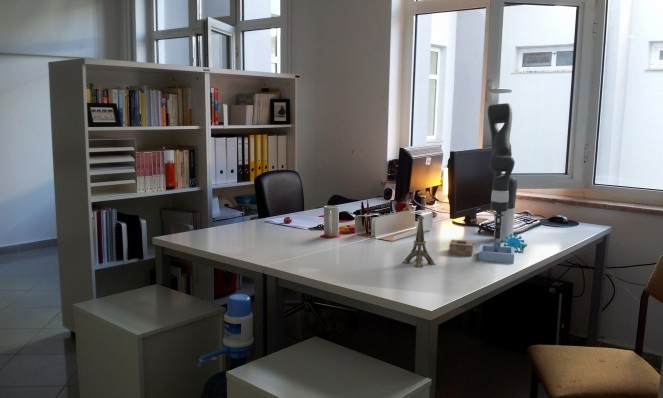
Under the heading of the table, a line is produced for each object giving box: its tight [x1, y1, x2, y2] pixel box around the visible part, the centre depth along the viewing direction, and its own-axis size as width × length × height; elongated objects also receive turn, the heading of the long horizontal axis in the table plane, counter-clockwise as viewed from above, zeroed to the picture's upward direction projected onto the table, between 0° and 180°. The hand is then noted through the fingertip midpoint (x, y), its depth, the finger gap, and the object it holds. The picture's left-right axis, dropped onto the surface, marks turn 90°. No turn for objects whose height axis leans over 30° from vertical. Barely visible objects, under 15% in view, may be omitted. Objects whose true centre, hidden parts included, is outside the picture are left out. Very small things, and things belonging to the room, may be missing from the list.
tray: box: [478, 244, 515, 264], centre depth 260 cm, size 15×15×4 cm
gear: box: [502, 233, 528, 253], centre depth 276 cm, size 11×6×10 cm
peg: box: [493, 226, 502, 253], centre depth 259 cm, size 3×3×12 cm
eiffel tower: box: [401, 214, 437, 269], centre depth 246 cm, size 11×11×25 cm
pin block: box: [448, 239, 474, 257], centre depth 269 cm, size 10×10×5 cm
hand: (497, 237), depth 259 cm, fingers closed on peg, 3 cm apart
